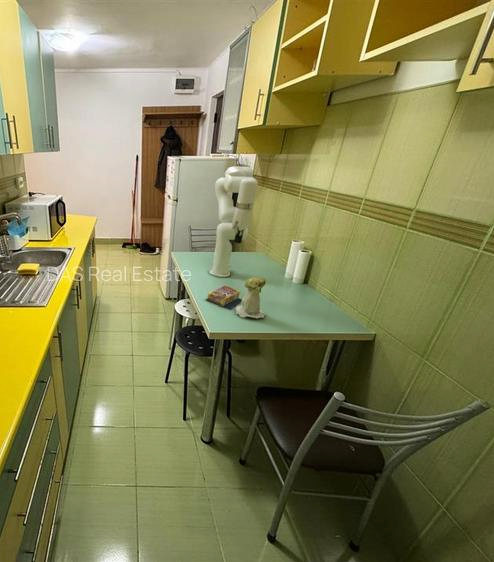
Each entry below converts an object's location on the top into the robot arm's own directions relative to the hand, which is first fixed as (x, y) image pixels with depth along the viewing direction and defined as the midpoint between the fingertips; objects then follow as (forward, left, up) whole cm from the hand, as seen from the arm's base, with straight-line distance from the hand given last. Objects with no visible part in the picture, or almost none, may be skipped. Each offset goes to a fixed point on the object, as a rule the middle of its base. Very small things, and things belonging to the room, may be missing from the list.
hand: (237, 242), depth 153 cm
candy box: (+4, +4, -25) cm, 25 cm away
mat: (+12, +4, -28) cm, 30 cm away
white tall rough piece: (+15, +18, -28) cm, 37 cm away
